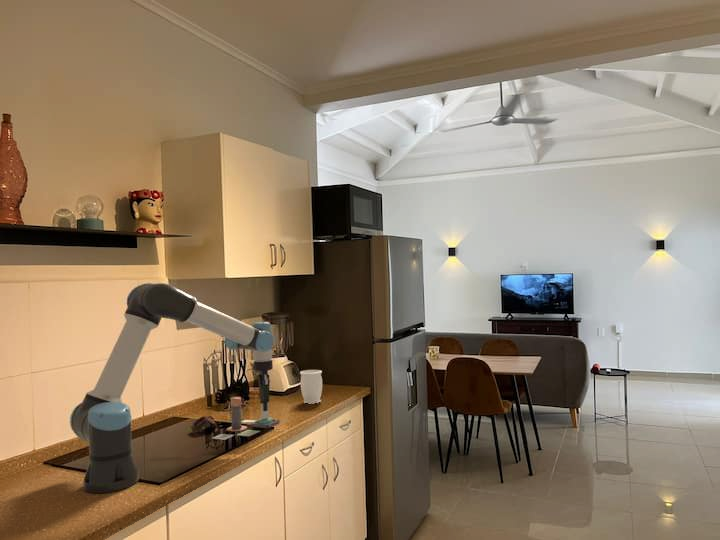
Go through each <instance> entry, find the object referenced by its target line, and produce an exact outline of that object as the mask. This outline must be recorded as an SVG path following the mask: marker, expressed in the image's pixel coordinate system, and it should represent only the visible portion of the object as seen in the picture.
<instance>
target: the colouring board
mask: <svg viewBox="0 0 720 540" xmlns="http://www.w3.org/2000/svg"><path fill="white" fill-rule="evenodd" d="M272 419H273V422H272V423H269V424H258V421H257V420H254V419H253V420H251V419H244V420H242V423H250V427H252V428H259V429H260V428H263V429H269V428H272V427H274V426H276V425H278V424H280V419H276V418H272ZM247 428H248V427H247V426H246V425H242V428H241V429H238V430H233V429H232V426H229V427H227V428H226V431H227V432H239V433H238V434H236V436H243V437H251V436H253V435H255V434H257V433H260V432H261V430H254V429H253V430H252V429H247ZM240 431H241V432H240ZM234 436H235V434H228V433H221V434H218V435H216V436H213V437H211V439H214V440H223V441H225V440H227V439H230V438H233V437H234Z"/></svg>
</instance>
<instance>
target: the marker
mask: <svg viewBox="0 0 720 540" xmlns="http://www.w3.org/2000/svg"><path fill="white" fill-rule="evenodd" d="M230 411H231V413H230V414H231V427H232V429H233V430H238V429H241V428H242V426H243V425H242V424H243V422H242V421H243V420H242V397H241V396H234V397H230Z"/></svg>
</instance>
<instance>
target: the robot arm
mask: <svg viewBox="0 0 720 540" xmlns="http://www.w3.org/2000/svg"><path fill="white" fill-rule="evenodd" d="M126 306H127V308H126V310H125V312H124V313H123V316H124V318H125V323H124V324H123V327H122V329H121V331H120V333H119V335H118V338H117V340H116V342H115V344H114V346H113V348H112V350H111V352H110V355H109V357H108V359H107V361H106V363H105V365H104V367H103V369H102V371H101V374H100V376H99V378H98V380H97V381H96V384H95V387H94V388H93V389H92V390H89V391H87V392H86V394H85V396H84V398H83V400H82V402H80V403H79V404H77V405H76V406H75V407H74V408H73V410H72V412H71V415H70V418H69V424H70V429H71V430H72V431H73V433H74V434H75V436H77V437H78V438H80V439H81V440H84V441H86V442H88V450H89V451H88V453H89V462H88V465H87V469H86V472H85V476H84V478H83V490H84V491H85V492H86V493H91V494H105V493H112V492H118V491H121V490H124V489H126V488H129V487H131V486H133V485H135V484H137V482H138V481H139V479H140V472H139V469H138V466H137V464H136V461H135V459H134V457H133V451H132V450H133V447H132V446H133V445H132V444H133V443H132V441H133V440H132V414H131V408H130V406H129V405H127V404H126V403H123V402H122V399H121V398H122V395H123V393H124V391H125V388H126V386H127V384H128V382H129V380H130V377H131V375H132V373H133V371H134V369H135V366H136V364H137V363H138V360H139V357H140V355H141V353H142V351H143V348H145V344H146V342H147V340H148V338H149V335H150V333H151V331H152V330H155V329H156V328H158V327H159V325H160V322H161V321H162V319H166V320H167V319H168V320H173V321H176V322H179V323H181V324H183V323H190V324H192V325H195V326H196V327H199V328H201V329H203V330H206V331H208V332H211V333H214V334H216V335H218V336H221V337H223V338H224V343H225V344H224V345H225V346H226V348H227V349H228V350H231V351H233V350H235V351H236V350H249V351H252V356H253V357H252V358H253V370H254V371H255V372H258V374H257V378H258V379H257V380H258V392H259V393H258V394H259V402H260V403H259V404H260V410H261V411H260V414H261V415H260V416H261V417H260V418H261V419H268V418H269V417H270V416H269V413H270V411H269V402H270V383H271V382H270V381H271V379H270V374H269V371H271V370H273V368H274V366H273V360H272V359H273V354H274V351H273V347H274V344H275V337H274V335H273V334H272V333H273V331H272V326H271V323H270V322H269V321H256V322H253V323H252V325H249V324H247V323H245V322H243V321H241V320H239V319H236V318H234V317H232V316H230V315H228V314H225V313H223V312H221V311H219V310H217V309H214V308H213V307H210V306H208V305H206V304H204V303H201V302H199V301H198V300H197V298H196V297H195V296H193V295H191V294H189V293H187V292H185V291H183V290H182V289H179V288H177V287H175V286H173V285H170V284H168V283H162V282H161V283H160V282H159V283H142V284H140V285H137V286H135V287H134V288H133V289H131V291H130V292H129V293H128V295H127V298H126Z"/></svg>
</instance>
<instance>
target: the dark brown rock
mask: <svg viewBox="0 0 720 540" xmlns="http://www.w3.org/2000/svg"><path fill="white" fill-rule="evenodd" d="M203 428H207V429H214V430H213V432H214V433H216V432H218V431H219V429H218V426H217V423H216V422H215V419H214V417H213V416H212V415H208V416H207V415H203V416H201V417H199V418H198V419H196V420H195V421H194V422H193V423H192V425H191V426H190V429H191V434H195V435H196V434H197V433H199V432H203Z"/></svg>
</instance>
